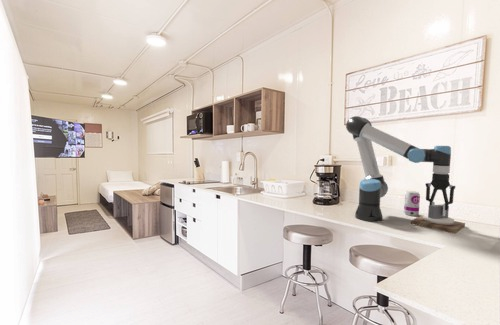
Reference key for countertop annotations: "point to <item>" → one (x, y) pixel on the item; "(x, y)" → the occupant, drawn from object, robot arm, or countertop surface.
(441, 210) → the dial
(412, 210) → the supplement can
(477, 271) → the countertop surface
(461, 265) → the countertop surface
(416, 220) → the dial base
